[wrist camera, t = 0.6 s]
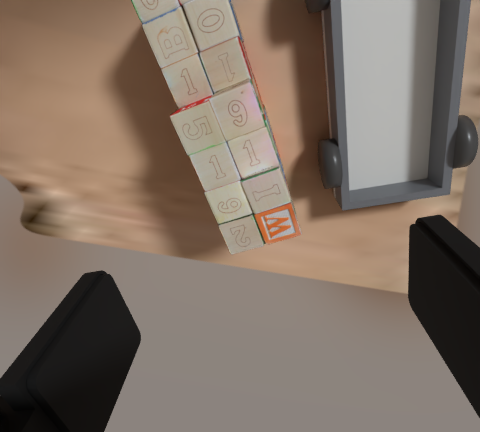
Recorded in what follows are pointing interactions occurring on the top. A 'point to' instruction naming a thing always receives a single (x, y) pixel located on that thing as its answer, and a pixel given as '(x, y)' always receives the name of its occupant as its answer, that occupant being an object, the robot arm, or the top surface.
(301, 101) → the top surface
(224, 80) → the stack of blocks
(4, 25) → the top surface
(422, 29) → the chassis
